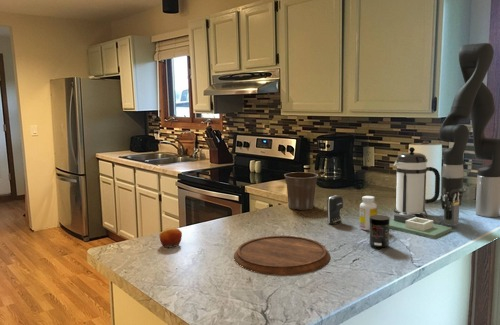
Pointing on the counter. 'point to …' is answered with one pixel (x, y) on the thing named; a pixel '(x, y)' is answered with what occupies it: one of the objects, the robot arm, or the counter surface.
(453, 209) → the plug
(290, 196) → the plant pot
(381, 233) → the supplement container
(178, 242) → the fruit
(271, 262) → the cutting board
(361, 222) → the supplement bottle
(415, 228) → the header board
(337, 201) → the battery charger
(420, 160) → the coffee press
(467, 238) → the counter surface
